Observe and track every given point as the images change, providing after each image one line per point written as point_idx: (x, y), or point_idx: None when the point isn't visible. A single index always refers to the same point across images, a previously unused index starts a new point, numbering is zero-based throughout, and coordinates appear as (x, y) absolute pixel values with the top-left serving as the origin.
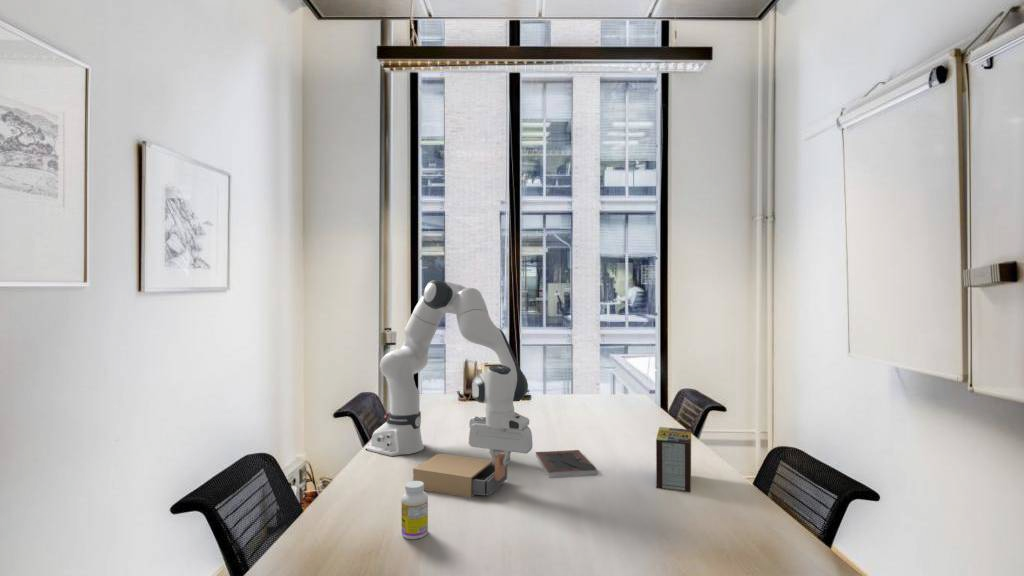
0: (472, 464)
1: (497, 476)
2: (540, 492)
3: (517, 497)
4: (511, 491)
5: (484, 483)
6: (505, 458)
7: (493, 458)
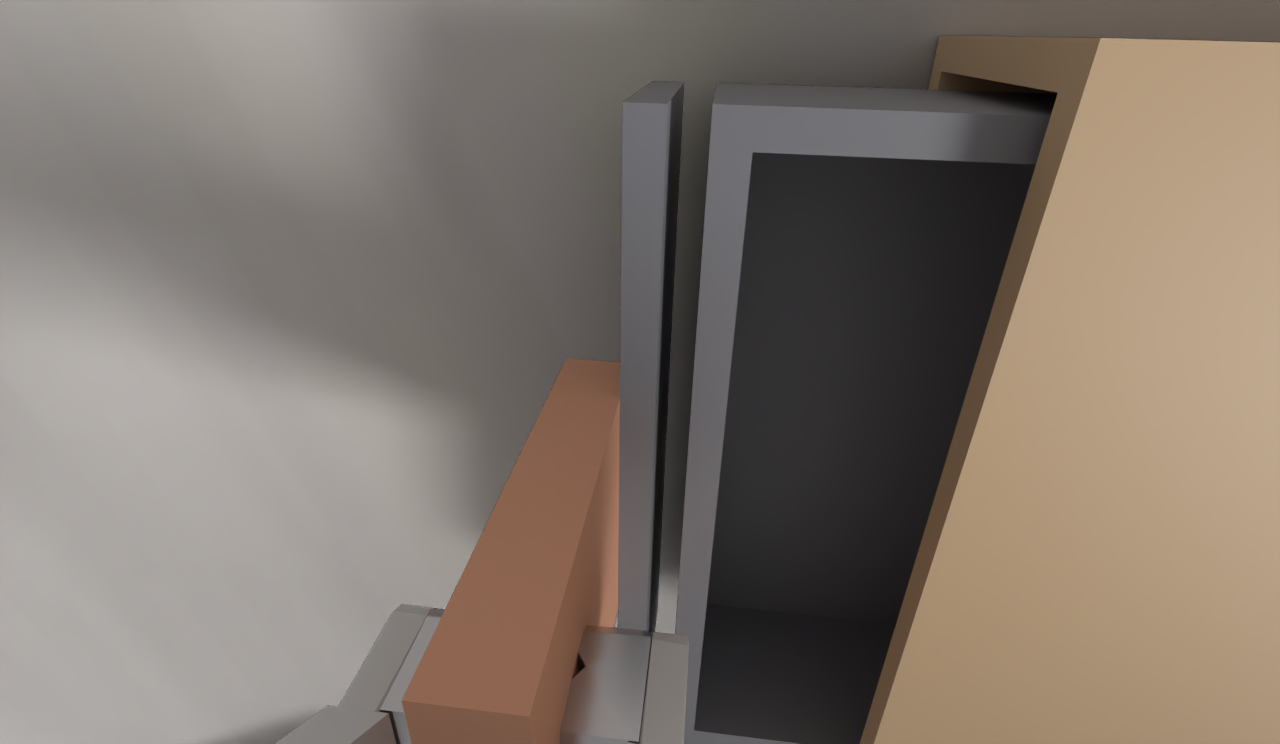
0: (1159, 694)
1: (568, 393)
2: (234, 449)
3: (357, 264)
4: (499, 396)
5: (723, 100)
6: (301, 735)
7: (664, 739)
